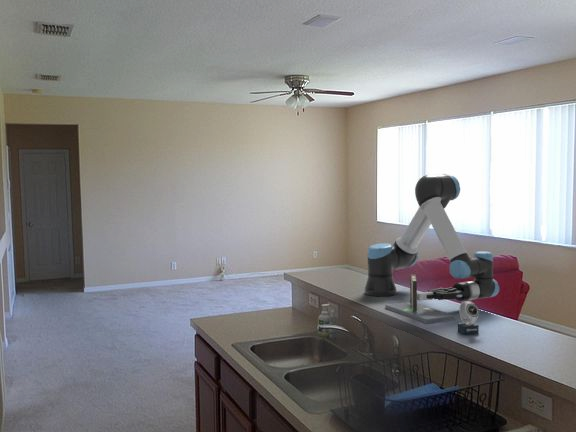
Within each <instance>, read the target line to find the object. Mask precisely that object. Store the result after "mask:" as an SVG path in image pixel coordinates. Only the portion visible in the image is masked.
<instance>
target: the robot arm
mask: <svg viewBox="0 0 576 432" xmlns="http://www.w3.org/2000/svg"><path fill="white" fill-rule="evenodd" d="M460 193H461V186H460V182H459V180H458V178H457V177H455V176H454V175H452V174H447V173H443V174H426V175H423V176H422V177H421V178H419V179H418V180H417V182H416V184H415V187H414V195H415V199H416V201H417V204H418V206H419V207H418V209H417V210H416V212H415V214H414V216H413V217H412V219H410V222H409V224H408V225H407V227H406V229H405V230H404V232H403V234H402V235H401V236H399V237H397V238H396V240H395V241H394V243H393V244H391V243H388V242H386V243H385V242H383V243H376V244H372V245H370V246H369V247H368V249H367V278H366V279H367V280H366V282H365V287H364V294H365V295H367V296H372V297H390V296H395V295H397V294H398V293H397V291H398V290H397V286H396V283H395V280H394V278H393V275H394V273H393V271H394V270H401V269H407V268H411V267H413V266H414V265H415V264H416V263H417V261H418V259H419V256H418V255H419V248H418V245H419V244H420V242H421V241H422V239H423V237H424V236H425V234H426V233H427V232H428V230H429V228H430V227H431V226H432V229H433V230H434V232H435V234H436V236H437V238H438V240H439V242H440V244H441V246H442V248H443V250H444V251H445V254H446V256H447V258H448V260H449V262H450V264H449V267H448V268H449V273H450V275H451V276H452V277H453V278H454V279H457V280H461V279H463V280H465V279H468V278H472V277H473V280H471V281H469V280H468V281H463V282H457V283H454V285H452V287H451V286H449V287H446V288H445V287H442V286H440V287H438V288H434V289H429V290H427V291H426V292H425V291H424V292H417V301H419V302H422V301H429V300H430V301H432V300H437V301H442V300H443V301H444V300H445V301H446V300H456V301H458V302H467V301H470V302H472V301H473V300H479V299H490V298H493V297H496V296H497V295H498V294H499V292H500V286H499V283H498V281H497V280H496V279H494V258H493V252H490V251H484V250H483V251H475V252H474V253H473V257H472V258H471V257H470V256H469V254H468V252H467V250H466V248H465V246H464V245H463V243H462V241H461V239H460V238H459V235H458V234H457V231H456V229H455V227H454V226H453V224H452V222H451V219H450V218H449V216H448V213H447V212H446V210H445V209H446V207H447V206H448V204H449V203H450V201H454V200H456V199H457V198H458V197H459V196H460Z"/></svg>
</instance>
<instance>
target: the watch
mask: <svg viewBox="0 0 576 432" xmlns="http://www.w3.org/2000/svg"><path fill="white" fill-rule="evenodd" d="M479 314H480V309H479V307H478V306H477V304H475V303H474V302H472V301H470V300H466V301H461V303H460V305H459V316H460V319H461V322H458V323H457V333H459V334H461V335H463V336H470V335H479V332H480V331H479V327H480V326H479V324H477V323H476V322H477V320H478V319H479Z"/></svg>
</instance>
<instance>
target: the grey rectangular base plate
mask: <svg viewBox="0 0 576 432" xmlns="http://www.w3.org/2000/svg"><path fill="white" fill-rule="evenodd" d="M385 309H387V310H389V311H392V312H395V313H398V314H400V315H403V316H405V317H408V318H411V319H413V320H416V321H419V322H421V323H424V324H431V323H432V324H433V323H439V322H446V321H452V320H453V321H454V320H455V319H456V317H455V314H451V313H447V312H445V311H441V310H439V309H435V308H432V307H430V306H426V305H423V304H420V303H417V311H413V308H412V304H410V301H405V302H397V303H391V304H390V303H388V304H385Z"/></svg>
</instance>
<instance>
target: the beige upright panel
mask: <svg viewBox="0 0 576 432" xmlns="http://www.w3.org/2000/svg"><path fill="white" fill-rule="evenodd" d="M417 283H418V281H417V274H409V302H410V304H412V308H413V311H417V304H418V300H417V293H418V291H417V290H418V284H417Z"/></svg>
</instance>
